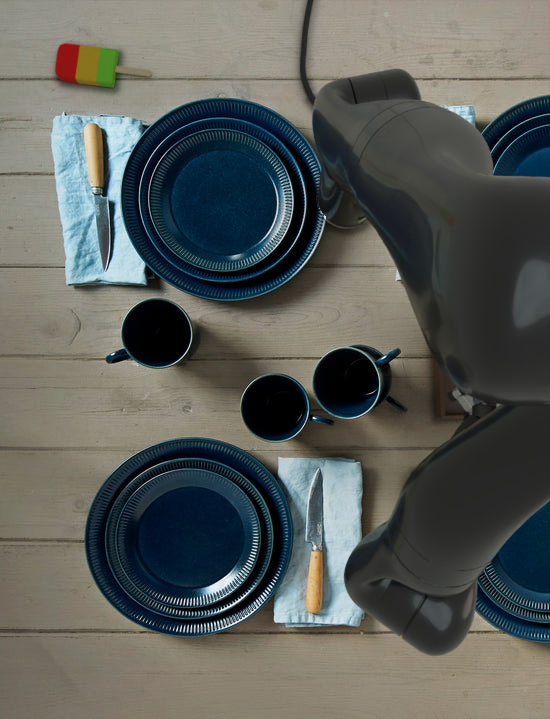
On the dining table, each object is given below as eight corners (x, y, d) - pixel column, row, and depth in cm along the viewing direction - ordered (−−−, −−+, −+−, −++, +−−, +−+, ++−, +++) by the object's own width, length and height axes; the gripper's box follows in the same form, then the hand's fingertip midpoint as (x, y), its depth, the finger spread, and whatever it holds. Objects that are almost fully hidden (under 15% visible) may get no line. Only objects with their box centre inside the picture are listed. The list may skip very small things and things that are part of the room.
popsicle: (62, 47, 89) (57, 40, 88) (155, 59, 89) (152, 52, 87) (57, 82, 90) (52, 76, 88) (150, 94, 89) (147, 88, 87)
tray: (430, 319, 87) (435, 318, 84) (490, 316, 87) (498, 314, 84) (436, 417, 87) (441, 419, 84) (496, 414, 87) (503, 416, 84)
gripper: (552, 518, 55) (585, 427, 66) (457, 403, 55) (506, 333, 67) (490, 535, 60) (531, 449, 72) (404, 430, 61) (458, 361, 72)
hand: (519, 393), depth 69 cm, fingers closed on mulberry block, 6 cm apart
